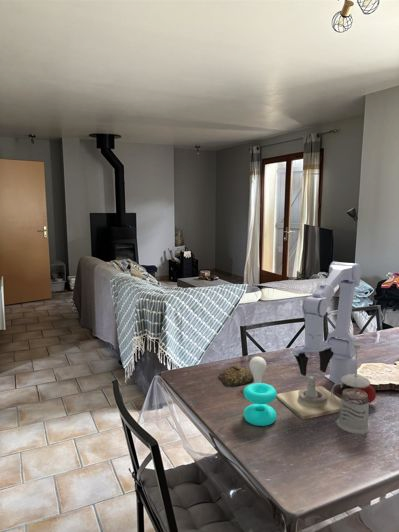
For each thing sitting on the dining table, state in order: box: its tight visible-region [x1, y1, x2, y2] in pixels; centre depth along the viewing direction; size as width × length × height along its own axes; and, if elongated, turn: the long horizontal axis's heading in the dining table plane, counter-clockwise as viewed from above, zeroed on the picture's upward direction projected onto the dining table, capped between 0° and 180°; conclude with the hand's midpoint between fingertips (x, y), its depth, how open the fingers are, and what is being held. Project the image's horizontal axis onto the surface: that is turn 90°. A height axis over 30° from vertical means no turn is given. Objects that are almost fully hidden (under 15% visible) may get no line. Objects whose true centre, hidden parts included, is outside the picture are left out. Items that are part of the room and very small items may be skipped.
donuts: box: [243, 382, 278, 427], centre depth 123 cm, size 10×10×10 cm
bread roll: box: [218, 365, 254, 387], centre depth 154 cm, size 13×12×5 cm
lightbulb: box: [248, 356, 267, 383], centre depth 146 cm, size 6×6×11 cm
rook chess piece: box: [305, 374, 318, 399], centre depth 134 cm, size 4×4×8 cm
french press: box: [330, 342, 372, 435], centre depth 119 cm, size 10×12×25 cm
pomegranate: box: [356, 384, 377, 404], centre depth 132 cm, size 6×6×8 cm
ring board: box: [276, 385, 352, 420], centre depth 133 cm, size 18×16×3 cm
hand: (313, 373), depth 134 cm, fingers open, 7 cm apart
